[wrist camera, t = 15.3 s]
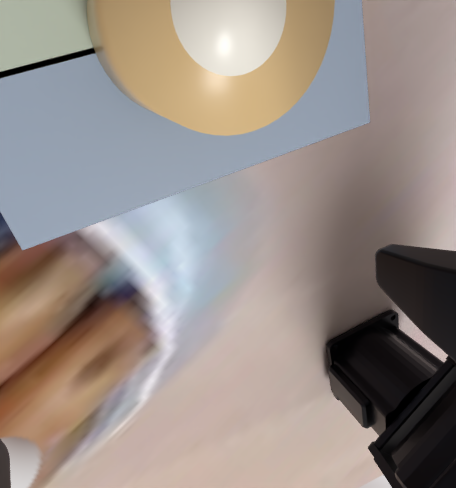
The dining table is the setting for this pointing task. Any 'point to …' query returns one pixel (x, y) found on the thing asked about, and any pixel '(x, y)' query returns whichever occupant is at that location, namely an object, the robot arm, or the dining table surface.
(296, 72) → the tan rounded cylinder
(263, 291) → the dining table surface
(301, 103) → the slate flap
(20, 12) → the sage flap
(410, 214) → the dining table surface
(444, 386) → the robot arm
